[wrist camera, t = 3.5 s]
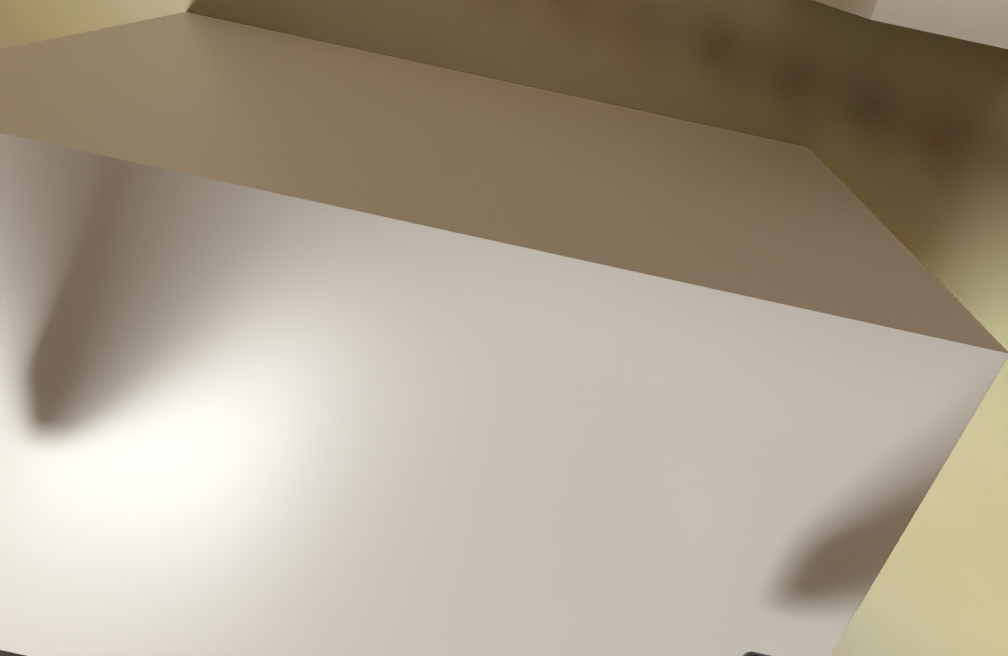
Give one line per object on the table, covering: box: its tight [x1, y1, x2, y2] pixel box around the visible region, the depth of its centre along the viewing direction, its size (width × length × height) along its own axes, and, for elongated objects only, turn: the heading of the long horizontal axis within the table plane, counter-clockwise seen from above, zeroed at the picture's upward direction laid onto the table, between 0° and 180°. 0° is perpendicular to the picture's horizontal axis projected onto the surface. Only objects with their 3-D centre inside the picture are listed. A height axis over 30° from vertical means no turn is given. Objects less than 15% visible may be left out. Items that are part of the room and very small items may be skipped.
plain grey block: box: [0, 12, 1008, 656], centre depth 13 cm, size 8×12×8 cm, turn 79°
